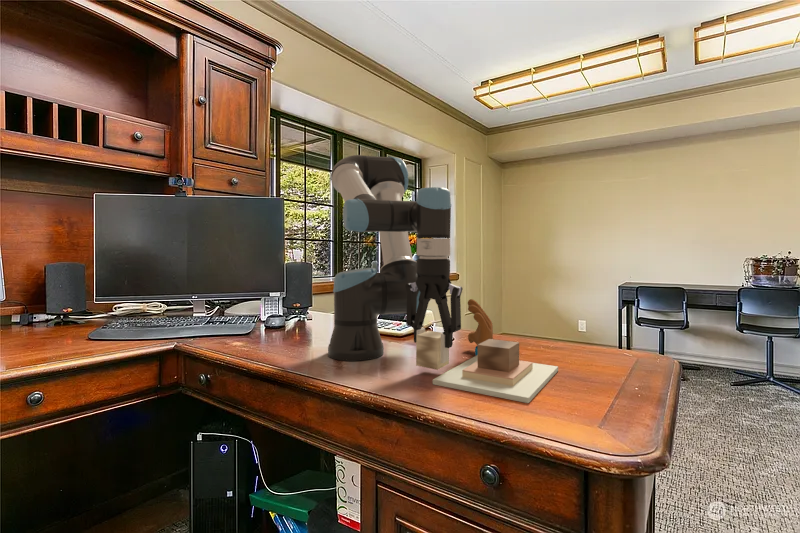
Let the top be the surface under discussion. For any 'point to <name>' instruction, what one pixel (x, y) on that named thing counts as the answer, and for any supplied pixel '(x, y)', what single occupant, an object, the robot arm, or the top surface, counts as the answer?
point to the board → (499, 379)
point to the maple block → (429, 350)
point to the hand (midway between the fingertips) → (432, 358)
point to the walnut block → (498, 355)
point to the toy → (480, 325)
